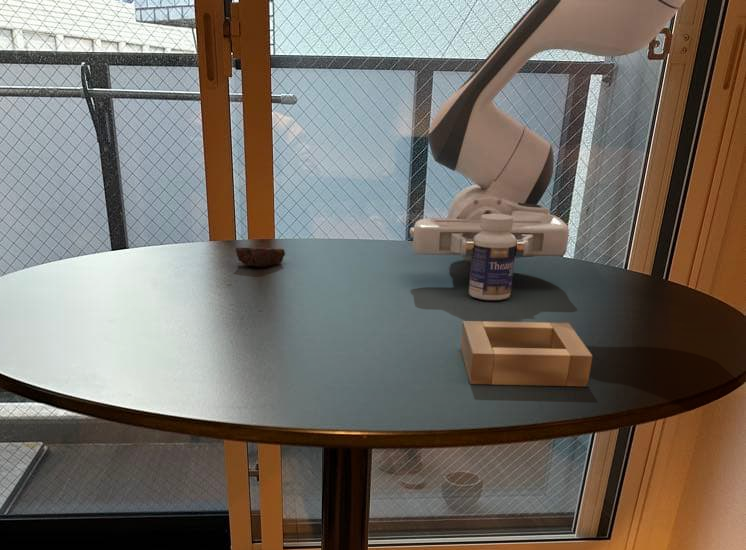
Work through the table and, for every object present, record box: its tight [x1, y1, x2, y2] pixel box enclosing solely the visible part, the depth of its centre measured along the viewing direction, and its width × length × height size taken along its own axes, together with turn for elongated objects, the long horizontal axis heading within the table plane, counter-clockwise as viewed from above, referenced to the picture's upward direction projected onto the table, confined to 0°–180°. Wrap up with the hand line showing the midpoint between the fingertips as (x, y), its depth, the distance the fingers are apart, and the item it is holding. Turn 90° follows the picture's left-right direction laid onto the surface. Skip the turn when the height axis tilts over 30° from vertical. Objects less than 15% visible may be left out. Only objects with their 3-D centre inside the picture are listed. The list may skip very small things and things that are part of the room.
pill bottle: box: [468, 214, 516, 301], centre depth 102 cm, size 5×5×10 cm
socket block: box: [460, 320, 593, 388], centre depth 79 cm, size 11×11×3 cm
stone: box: [235, 246, 286, 268], centre depth 119 cm, size 7×7×3 cm
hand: (495, 249), depth 100 cm, fingers closed on pill bottle, 5 cm apart
